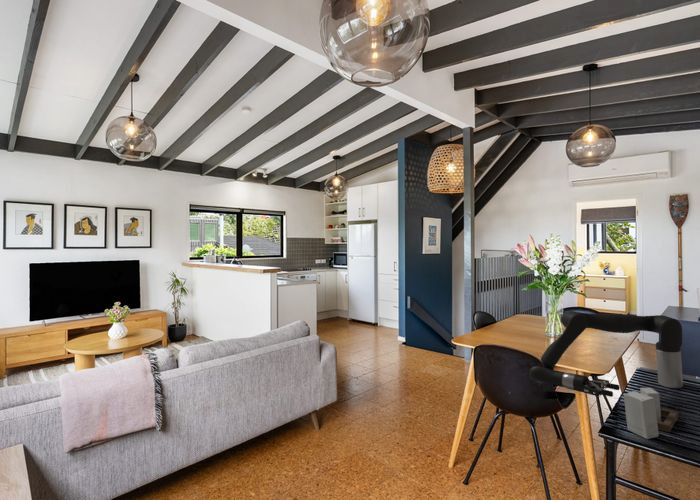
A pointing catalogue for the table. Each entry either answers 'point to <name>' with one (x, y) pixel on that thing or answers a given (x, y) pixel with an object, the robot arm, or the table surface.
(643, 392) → the skincare box
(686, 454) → the table surface
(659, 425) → the walnut collar
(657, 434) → the skincare box
